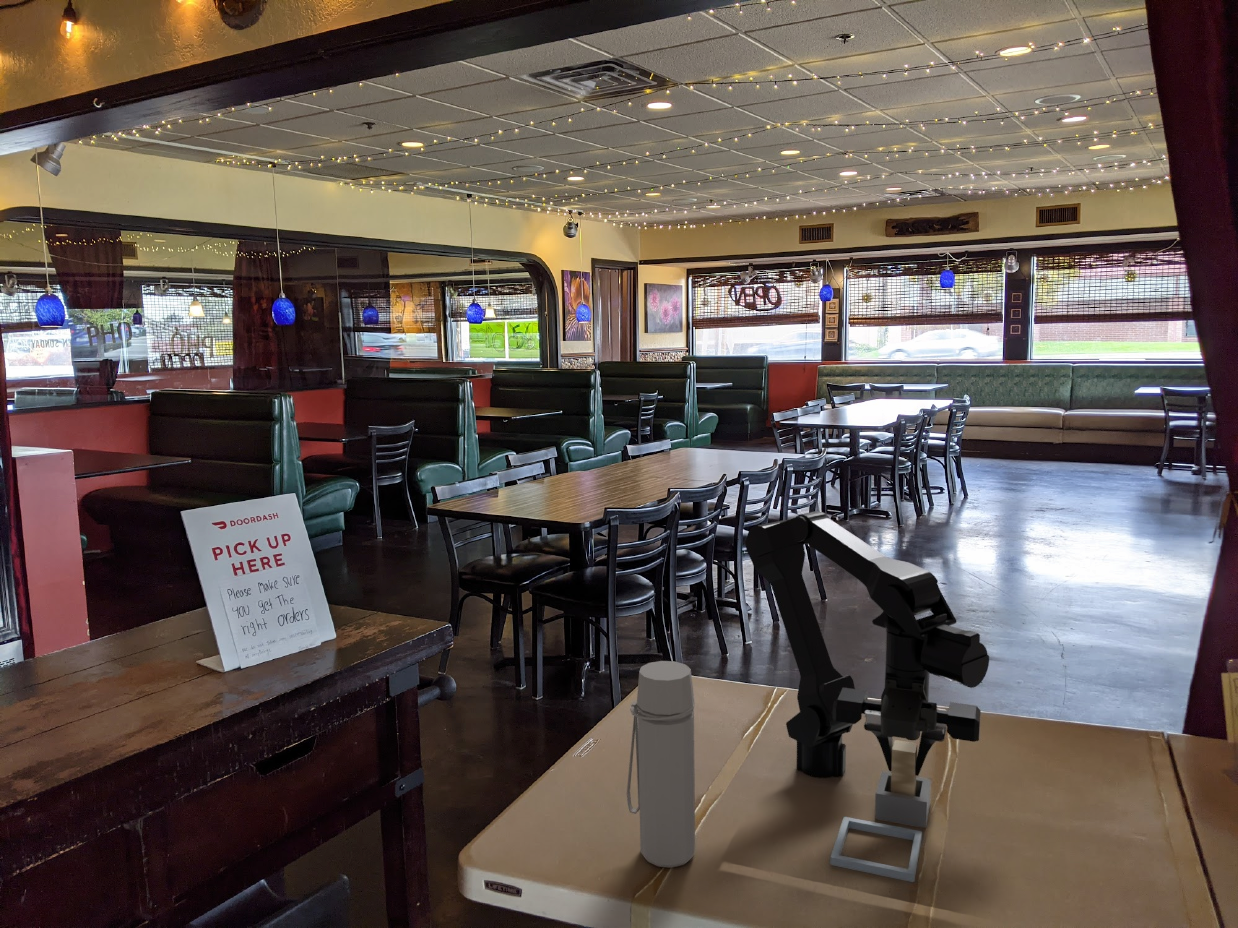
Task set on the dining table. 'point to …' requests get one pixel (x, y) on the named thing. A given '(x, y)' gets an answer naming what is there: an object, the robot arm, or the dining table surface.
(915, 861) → the grey flat frame
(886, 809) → the block with square hole
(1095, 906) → the dining table surface
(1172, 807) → the dining table surface
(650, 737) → the water bottle
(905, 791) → the peg
